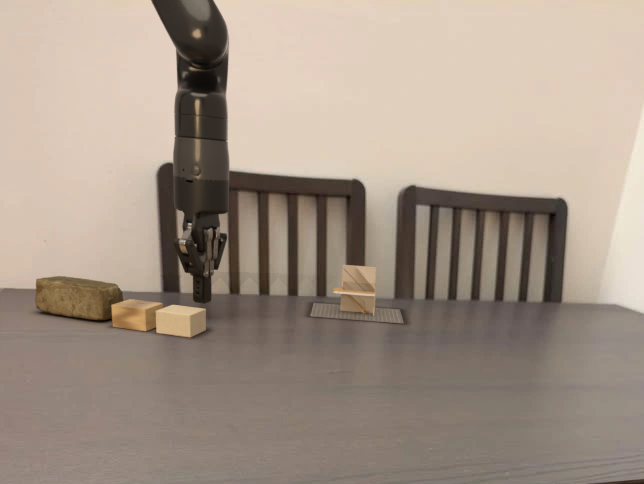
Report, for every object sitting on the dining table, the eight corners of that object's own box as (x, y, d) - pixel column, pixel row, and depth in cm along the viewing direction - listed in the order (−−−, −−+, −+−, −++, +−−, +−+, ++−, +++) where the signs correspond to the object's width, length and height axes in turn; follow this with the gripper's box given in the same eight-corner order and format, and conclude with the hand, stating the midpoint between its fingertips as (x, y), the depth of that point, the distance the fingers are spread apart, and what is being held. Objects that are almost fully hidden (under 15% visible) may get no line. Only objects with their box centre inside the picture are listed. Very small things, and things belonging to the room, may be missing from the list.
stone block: (103, 324, 100) (101, 287, 98) (32, 313, 103) (28, 277, 101) (127, 316, 106) (125, 281, 104) (58, 307, 108) (55, 272, 106)
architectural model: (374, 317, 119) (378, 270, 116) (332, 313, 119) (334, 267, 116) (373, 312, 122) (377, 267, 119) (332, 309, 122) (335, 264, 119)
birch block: (112, 326, 100) (111, 304, 98) (131, 320, 104) (130, 298, 103) (146, 331, 99) (145, 309, 97) (163, 324, 103) (162, 303, 102)
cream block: (156, 332, 98) (155, 310, 97) (173, 325, 103) (172, 304, 102) (190, 337, 98) (190, 315, 96) (206, 330, 102) (205, 308, 101)
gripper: (197, 172, 106) (198, 292, 114) (152, 172, 95) (156, 306, 102) (245, 177, 105) (243, 298, 112) (206, 178, 93) (206, 313, 100)
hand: (202, 302), depth 107 cm, fingers closed
